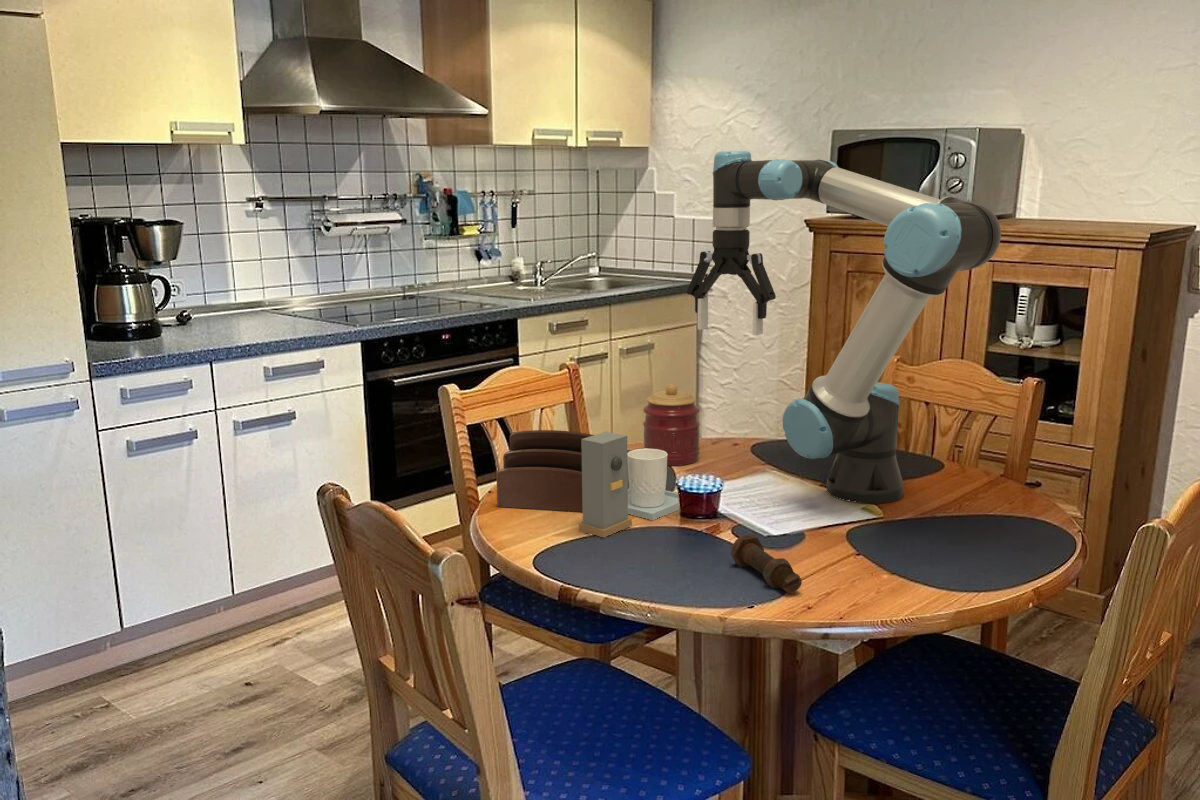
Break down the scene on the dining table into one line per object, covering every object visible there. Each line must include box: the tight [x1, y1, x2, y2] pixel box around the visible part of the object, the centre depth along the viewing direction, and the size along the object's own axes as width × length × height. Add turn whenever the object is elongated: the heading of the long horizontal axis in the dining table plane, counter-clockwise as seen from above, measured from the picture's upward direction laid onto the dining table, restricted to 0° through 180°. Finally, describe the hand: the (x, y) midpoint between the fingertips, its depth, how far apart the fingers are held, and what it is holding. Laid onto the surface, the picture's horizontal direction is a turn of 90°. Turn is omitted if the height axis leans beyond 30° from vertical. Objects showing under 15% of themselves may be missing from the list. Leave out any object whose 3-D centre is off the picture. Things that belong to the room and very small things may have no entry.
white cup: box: [627, 448, 668, 507], centre depth 196 cm, size 8×8×10 cm
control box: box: [578, 431, 633, 538], centre depth 183 cm, size 6×8×18 cm
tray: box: [628, 488, 680, 521], centre depth 197 cm, size 13×13×1 cm
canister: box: [642, 383, 701, 467], centre depth 228 cm, size 13×13×18 cm
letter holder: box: [495, 429, 595, 513], centre depth 199 cm, size 10×20×14 cm, turn 77°
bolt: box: [730, 534, 802, 594], centre depth 160 cm, size 6×5×15 cm
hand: (729, 331), depth 209 cm, fingers open, 13 cm apart
